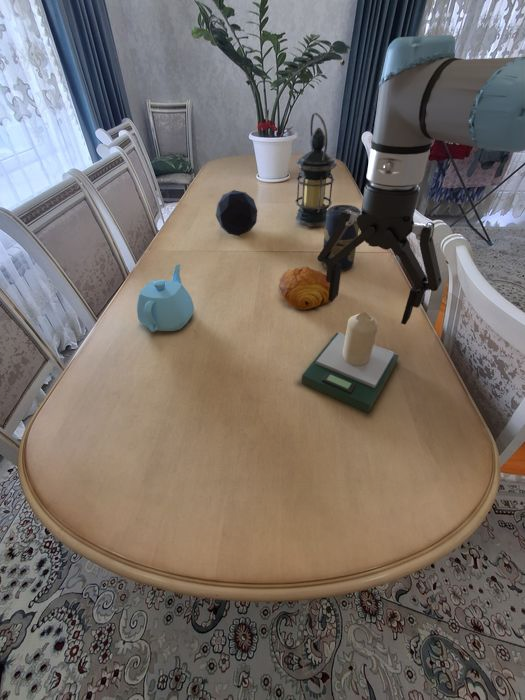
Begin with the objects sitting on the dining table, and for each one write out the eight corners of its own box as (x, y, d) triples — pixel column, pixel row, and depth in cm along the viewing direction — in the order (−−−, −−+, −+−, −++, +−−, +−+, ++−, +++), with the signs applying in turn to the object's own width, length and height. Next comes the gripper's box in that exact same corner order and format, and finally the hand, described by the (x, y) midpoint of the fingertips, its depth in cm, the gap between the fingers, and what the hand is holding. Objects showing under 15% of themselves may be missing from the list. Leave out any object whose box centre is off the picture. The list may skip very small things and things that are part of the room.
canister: (345, 276, 102) (355, 214, 90) (316, 268, 106) (321, 208, 94) (357, 262, 108) (367, 202, 96) (328, 255, 112) (335, 197, 100)
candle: (345, 345, 74) (352, 306, 67) (371, 351, 72) (381, 311, 66) (339, 362, 70) (346, 322, 63) (367, 368, 68) (377, 328, 62)
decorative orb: (211, 210, 130) (211, 183, 115) (250, 206, 132) (255, 178, 118) (219, 245, 127) (220, 221, 112) (259, 239, 130) (265, 216, 115)
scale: (396, 363, 74) (399, 351, 72) (368, 413, 64) (371, 402, 62) (335, 340, 80) (337, 329, 78) (301, 383, 70) (302, 372, 68)
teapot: (201, 264, 86) (168, 304, 73) (206, 301, 94) (177, 343, 81) (155, 259, 89) (116, 297, 76) (164, 295, 96) (129, 335, 83)
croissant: (279, 317, 91) (279, 294, 85) (278, 280, 101) (277, 256, 95) (335, 316, 90) (339, 292, 84) (328, 278, 100) (331, 254, 94)
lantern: (335, 229, 128) (349, 114, 104) (300, 233, 125) (307, 117, 102) (321, 215, 138) (331, 108, 115) (289, 218, 136) (293, 110, 113)
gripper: (302, 177, 52) (297, 298, 66) (486, 205, 41) (434, 343, 55) (324, 166, 57) (315, 281, 71) (496, 188, 46) (445, 319, 60)
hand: (367, 308), depth 63 cm, fingers open, 13 cm apart
